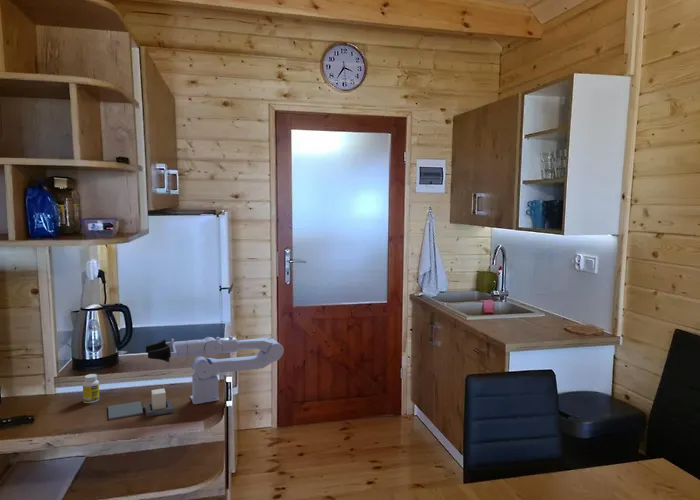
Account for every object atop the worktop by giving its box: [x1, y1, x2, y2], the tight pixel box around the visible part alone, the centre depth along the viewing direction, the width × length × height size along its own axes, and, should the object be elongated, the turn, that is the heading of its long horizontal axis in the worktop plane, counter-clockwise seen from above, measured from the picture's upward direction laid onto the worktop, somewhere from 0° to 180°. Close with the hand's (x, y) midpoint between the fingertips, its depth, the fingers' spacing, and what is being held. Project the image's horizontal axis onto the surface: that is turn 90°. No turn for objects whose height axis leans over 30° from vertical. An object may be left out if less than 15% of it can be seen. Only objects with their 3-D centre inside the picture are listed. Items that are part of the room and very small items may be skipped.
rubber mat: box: [107, 400, 144, 421], centre depth 179 cm, size 11×11×1 cm
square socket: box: [144, 398, 175, 418], centre depth 180 cm, size 9×9×2 cm
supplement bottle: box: [82, 373, 100, 404], centre depth 186 cm, size 5×5×10 cm
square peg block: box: [150, 387, 167, 410], centre depth 180 cm, size 4×4×7 cm
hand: (146, 352), depth 179 cm, fingers open, 7 cm apart
